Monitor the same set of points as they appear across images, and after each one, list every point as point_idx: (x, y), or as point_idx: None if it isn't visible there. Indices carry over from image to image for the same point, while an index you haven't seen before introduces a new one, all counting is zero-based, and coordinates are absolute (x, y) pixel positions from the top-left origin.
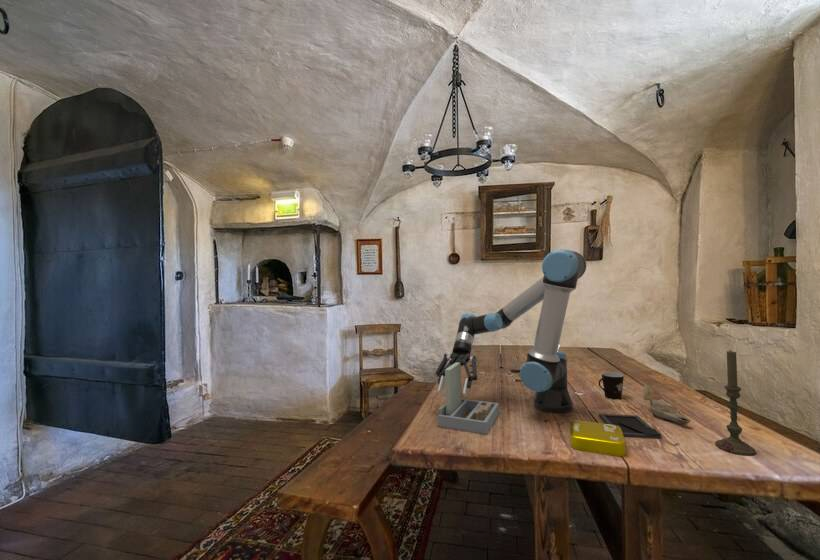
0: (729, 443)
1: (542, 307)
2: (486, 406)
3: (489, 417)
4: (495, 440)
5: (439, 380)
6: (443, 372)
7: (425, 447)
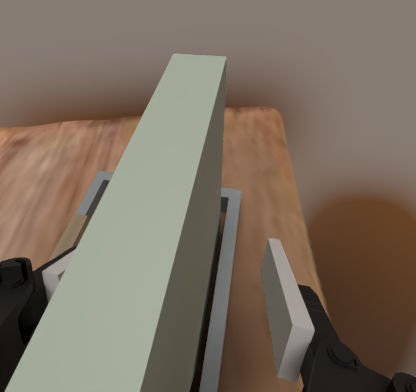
0: None
1: None
2: (61, 252)
3: (79, 206)
4: (100, 165)
5: (310, 303)
6: (318, 380)
7: (234, 118)
